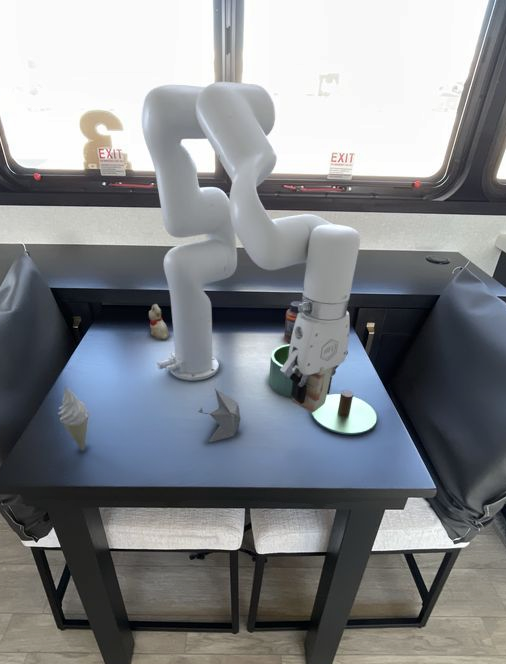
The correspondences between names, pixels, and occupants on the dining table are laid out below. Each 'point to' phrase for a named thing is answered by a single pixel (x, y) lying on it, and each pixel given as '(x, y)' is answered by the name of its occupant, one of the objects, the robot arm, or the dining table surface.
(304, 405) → the small beige carton
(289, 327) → the supplement bottle
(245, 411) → the dining table surface
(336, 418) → the lid
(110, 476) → the dining table surface
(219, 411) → the gray faceted winged figurine
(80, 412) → the ice cream cone
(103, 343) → the dining table surface
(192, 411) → the dining table surface
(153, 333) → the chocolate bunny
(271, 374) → the tin
